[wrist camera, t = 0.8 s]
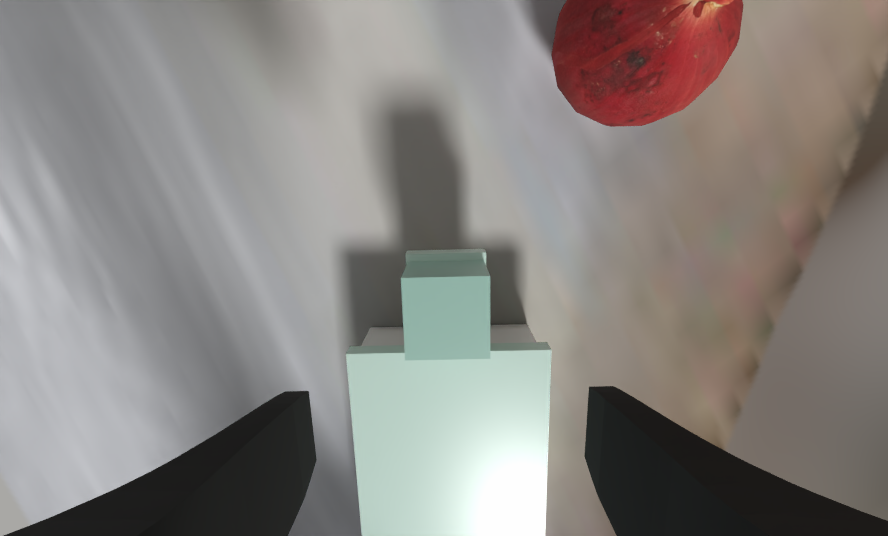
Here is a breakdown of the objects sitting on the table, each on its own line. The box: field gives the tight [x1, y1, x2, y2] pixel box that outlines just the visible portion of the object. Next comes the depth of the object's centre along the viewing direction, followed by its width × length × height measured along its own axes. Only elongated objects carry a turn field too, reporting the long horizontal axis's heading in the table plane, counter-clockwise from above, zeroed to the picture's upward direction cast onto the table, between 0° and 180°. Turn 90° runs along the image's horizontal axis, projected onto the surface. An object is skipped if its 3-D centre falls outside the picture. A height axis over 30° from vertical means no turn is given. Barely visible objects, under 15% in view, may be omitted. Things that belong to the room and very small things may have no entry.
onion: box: [552, 0, 743, 126], centre depth 14 cm, size 6×6×8 cm
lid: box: [346, 249, 551, 536], centre depth 18 cm, size 17×9×4 cm, turn 2°
